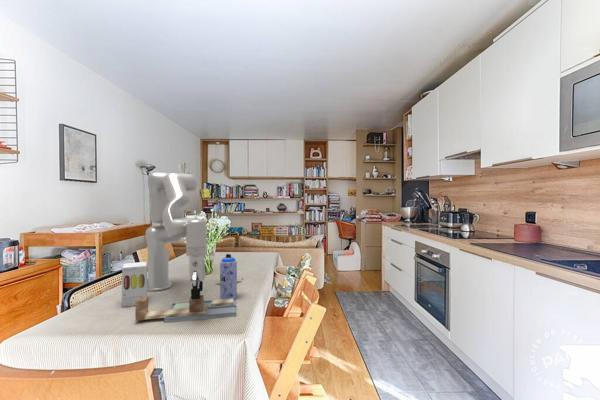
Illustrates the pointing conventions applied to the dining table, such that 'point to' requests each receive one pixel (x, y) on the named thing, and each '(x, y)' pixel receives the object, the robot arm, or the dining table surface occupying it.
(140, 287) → the supplement box
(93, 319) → the dining table surface
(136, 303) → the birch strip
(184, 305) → the felt coaster
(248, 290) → the dining table surface
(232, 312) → the slate board
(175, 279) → the dining table surface
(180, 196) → the robot arm
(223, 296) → the aerosol can
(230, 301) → the broken strip
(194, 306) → the walnut block
